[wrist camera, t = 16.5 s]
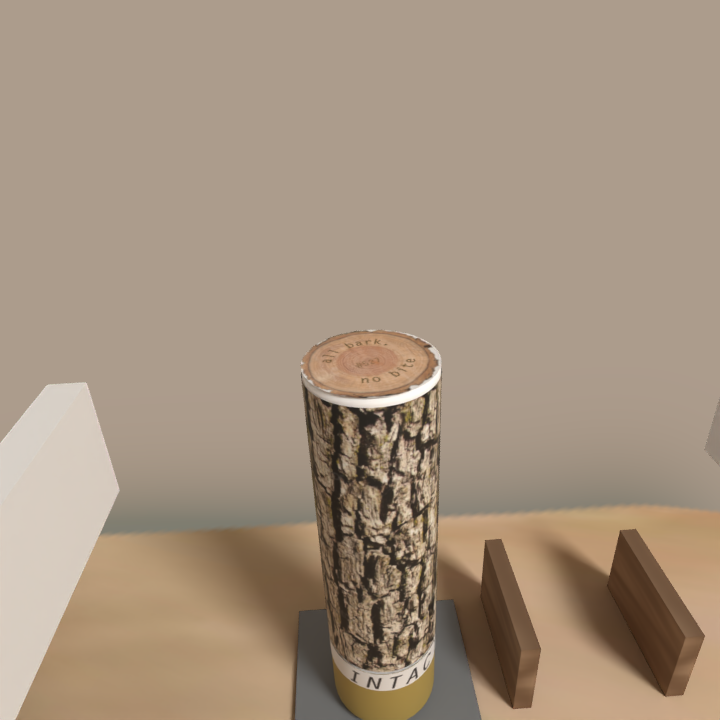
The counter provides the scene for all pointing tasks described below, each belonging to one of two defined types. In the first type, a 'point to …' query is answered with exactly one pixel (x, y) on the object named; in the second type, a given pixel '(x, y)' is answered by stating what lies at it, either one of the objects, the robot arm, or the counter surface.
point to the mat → (317, 683)
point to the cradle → (634, 598)
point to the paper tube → (377, 512)
